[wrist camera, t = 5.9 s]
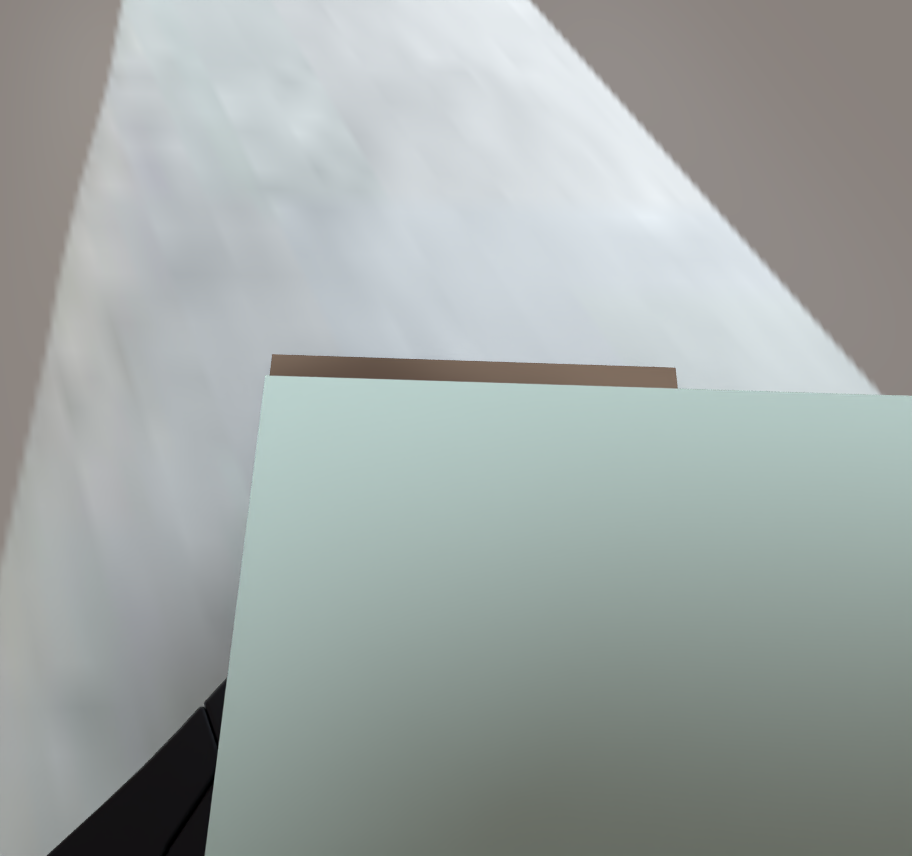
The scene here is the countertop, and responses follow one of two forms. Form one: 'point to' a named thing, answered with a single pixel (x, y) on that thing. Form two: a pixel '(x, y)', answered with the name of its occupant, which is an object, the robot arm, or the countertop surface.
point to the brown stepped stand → (472, 371)
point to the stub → (570, 624)
